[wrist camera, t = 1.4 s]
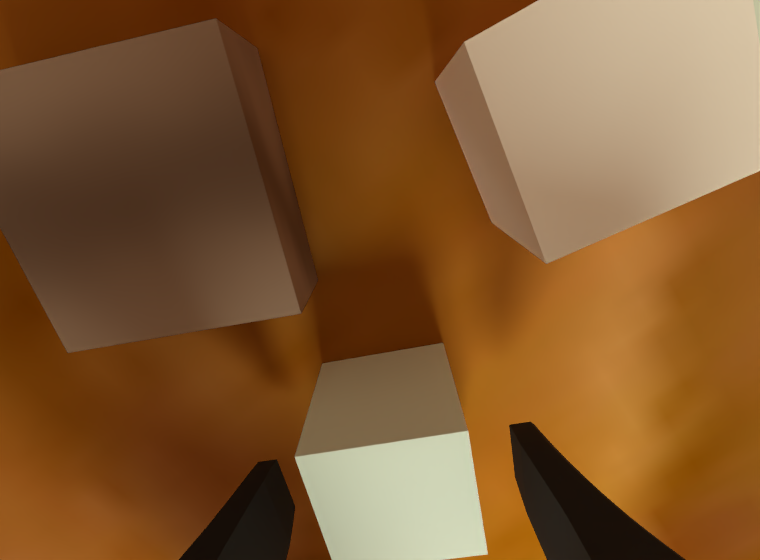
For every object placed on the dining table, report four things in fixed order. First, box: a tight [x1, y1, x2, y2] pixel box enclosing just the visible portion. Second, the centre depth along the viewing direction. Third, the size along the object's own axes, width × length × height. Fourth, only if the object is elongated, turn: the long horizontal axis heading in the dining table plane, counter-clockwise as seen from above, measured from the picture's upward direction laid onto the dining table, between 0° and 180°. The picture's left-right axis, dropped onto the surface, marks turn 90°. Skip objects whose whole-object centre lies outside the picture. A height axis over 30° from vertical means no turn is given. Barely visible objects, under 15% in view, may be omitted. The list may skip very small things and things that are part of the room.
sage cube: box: [295, 343, 488, 560], centre depth 12 cm, size 4×4×4 cm
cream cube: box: [435, 0, 760, 264], centre depth 9 cm, size 4×4×4 cm
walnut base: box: [0, 18, 318, 353], centre depth 11 cm, size 7×7×3 cm
